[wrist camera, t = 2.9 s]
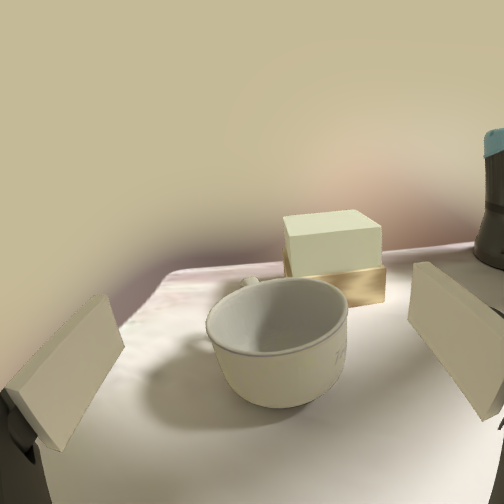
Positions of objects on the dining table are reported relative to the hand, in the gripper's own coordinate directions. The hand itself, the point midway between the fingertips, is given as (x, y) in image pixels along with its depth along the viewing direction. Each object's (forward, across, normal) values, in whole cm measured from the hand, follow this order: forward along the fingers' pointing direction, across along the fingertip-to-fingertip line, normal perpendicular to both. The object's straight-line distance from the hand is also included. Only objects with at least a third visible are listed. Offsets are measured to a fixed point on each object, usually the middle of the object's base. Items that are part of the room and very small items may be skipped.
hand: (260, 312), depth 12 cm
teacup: (+11, 0, -13) cm, 17 cm away
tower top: (+27, +9, -8) cm, 29 cm away
